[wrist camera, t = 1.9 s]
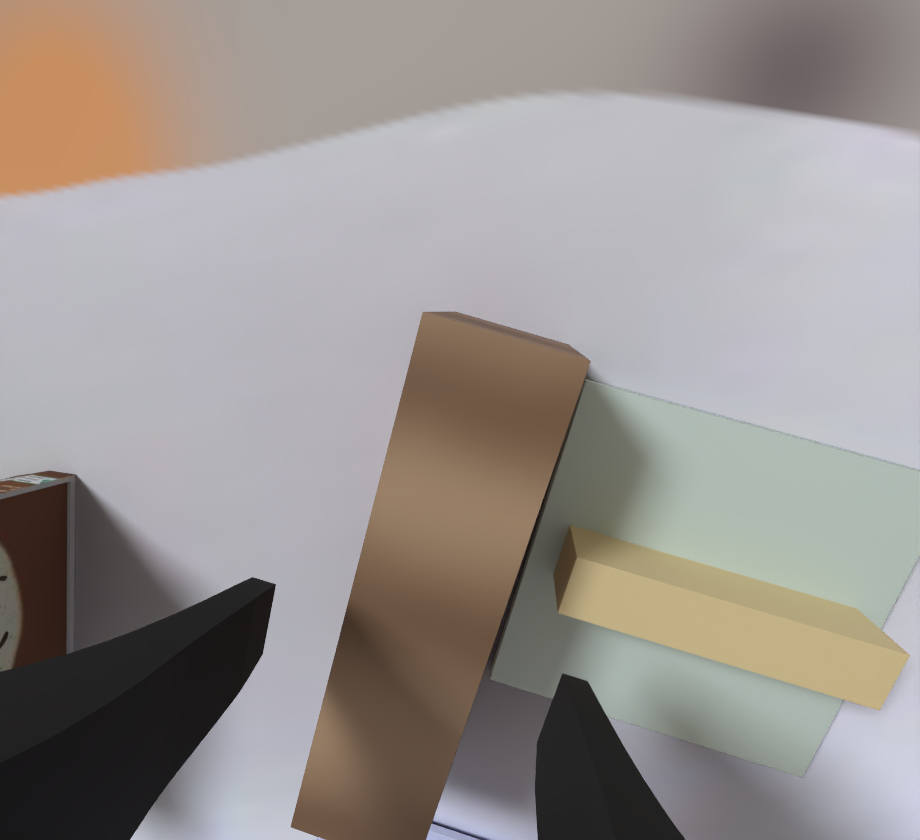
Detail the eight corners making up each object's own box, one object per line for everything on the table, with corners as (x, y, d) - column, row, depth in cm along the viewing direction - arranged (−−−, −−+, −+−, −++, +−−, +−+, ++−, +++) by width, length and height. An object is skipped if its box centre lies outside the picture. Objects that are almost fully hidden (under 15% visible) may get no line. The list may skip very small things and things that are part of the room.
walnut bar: (445, 716, 21) (414, 871, 15) (354, 685, 21) (290, 827, 15) (567, 344, 17) (590, 361, 11) (456, 311, 17) (422, 311, 12)
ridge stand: (793, 763, 19) (842, 843, 16) (490, 669, 20) (485, 729, 17) (942, 476, 16) (1032, 511, 14) (584, 378, 17) (596, 392, 14)
